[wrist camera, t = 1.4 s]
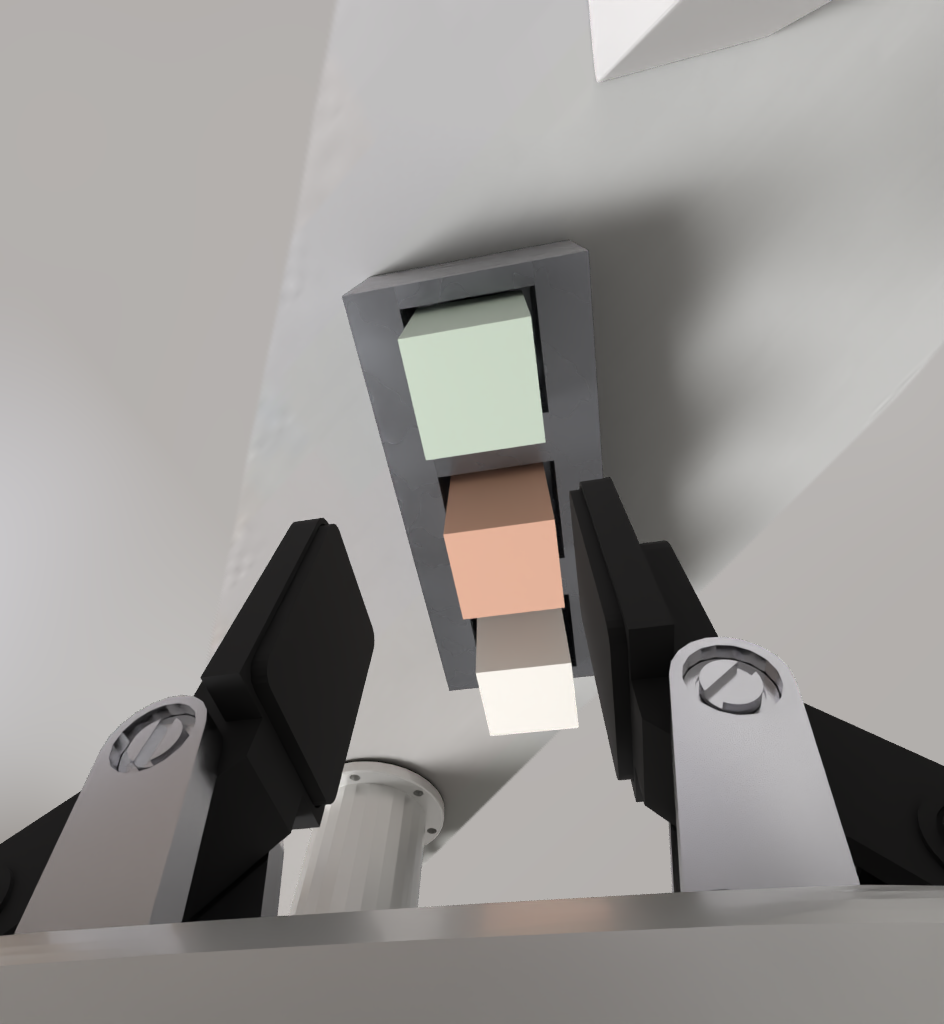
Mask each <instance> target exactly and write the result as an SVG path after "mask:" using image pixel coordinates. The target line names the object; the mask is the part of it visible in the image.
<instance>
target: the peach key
mask: <svg viewBox="0 0 944 1024" xmlns="http://www.w3.org/2000/svg"><path fill="white" fill-rule="evenodd" d="M443 536H444V540H445V544H446V548H447V553H448V557H449V561H450V565H451V570H452V574H453V578H454V582H455V587H456V591H457V595H458V600H459V604H460V608H461V612H462V617H463V619H472V618H480V617H489V616H497V615H506V614H514V613H523V612H531V611H539V610H548V609H556V608H565V605H564V596H563V588H562V579H561V570H560V562H559V553H558V545H557V536H556V527H555V519H554V514H553V509H552V505H551V500H550V495H549V490H548V485H547V480H546V475H545V471H544V466H543V462H540V463H533V464H526V465H519V466H513V467H506V468H499V469H492V470H485V471H478V472H472V473H465V474H458V475H451V479H450V487H449V495H448V502H447V510H446V518H445V525H444V533H443Z"/></svg>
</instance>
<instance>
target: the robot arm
mask: <svg viewBox="0 0 944 1024" xmlns="http://www.w3.org/2000/svg"><path fill="white" fill-rule="evenodd" d="M569 499H570V510H571V520H572V530H573V540H574V550H575V560H576V570H577V580H578V591H579V601H580V609H581V616H582V622H583V627H584V631H585V636H586V640H587V645H588V649H589V654H590V658H591V663H592V667H593V672H594V676H595V681H596V685H597V690H598V694H599V699H600V703H601V708H602V712H603V717H604V721H605V726H606V730H607V734H608V739H609V744H610V748H611V753H612V757H613V762H614V766H615V771H616V775H617V778H618V780H627V779H631V782H632V787H633V791H634V795H635V798H636V802H642V801H644V804H645V806H647V807H648V808H650V809H651V810H653V811H654V812H656V813H657V814H658V815H660V816H661V817H663V818H664V819H666V820H667V821H668V822H669V836H670V854H671V874H672V893H662V894H646V895H645V894H643V895H626V896H608V897H591V898H573V899H556V900H537V901H520V902H502V903H485V904H468V905H453V906H435V907H419V908H418V899H419V888H420V879H421V869H422V858H423V848H424V846H426V845H427V844H429V843H430V842H431V841H433V840H434V839H435V838H436V837H437V835H438V834H439V833H440V831H441V829H442V827H443V822H444V803H443V800H442V797H441V796H440V794H439V792H438V791H437V789H436V788H435V787H434V786H433V785H432V784H431V783H430V782H428V781H427V780H426V779H424V778H423V777H421V776H420V775H418V774H416V773H414V772H412V771H410V770H408V769H405V768H402V767H399V766H396V765H392V764H387V763H382V762H370V761H360V762H349V763H345V760H346V756H347V752H348V748H349V744H350V740H351V736H352V733H353V729H354V725H355V721H356V717H357V713H358V709H359V705H360V701H361V697H362V693H363V689H364V685H365V681H366V677H367V673H368V669H369V665H370V661H371V657H372V653H373V649H374V632H373V628H372V625H371V622H370V619H369V616H368V613H367V610H366V607H365V605H364V602H363V599H362V596H361V593H360V590H359V587H358V584H357V581H356V578H355V575H354V572H353V569H352V566H351V564H350V561H349V558H348V555H347V552H346V549H345V546H344V543H343V540H342V537H341V534H340V531H339V529H338V527H337V526H336V525H335V524H328V522H327V521H326V520H325V519H324V518H319V519H312V520H305V521H298V522H294V523H293V524H292V525H291V526H290V528H289V530H288V531H287V533H286V535H285V536H284V538H283V540H282V541H281V543H280V545H279V546H278V548H277V550H276V551H275V553H274V555H273V556H272V558H271V560H270V562H269V563H268V565H267V567H266V568H265V570H264V572H263V573H262V575H261V577H260V578H259V580H258V582H257V583H256V585H255V587H254V588H253V590H252V592H251V593H250V595H249V597H248V599H247V600H246V602H245V604H244V605H243V607H242V609H241V610H240V612H239V614H238V615H237V617H236V619H235V620H234V622H233V624H232V625H231V627H230V629H229V630H228V632H227V634H226V635H225V637H224V639H223V641H222V642H221V644H220V646H219V647H218V649H217V651H216V652H215V654H214V656H213V657H212V659H211V661H210V662H209V664H208V666H207V667H206V669H205V671H204V672H203V674H202V676H201V679H202V683H201V684H200V686H199V688H198V689H197V691H196V693H195V695H194V696H187V695H180V696H173V697H168V698H165V699H162V700H159V701H157V702H154V703H152V704H150V705H148V706H146V707H145V708H143V709H141V710H139V711H137V712H136V713H135V714H133V715H132V716H131V717H130V718H128V719H127V720H126V721H124V722H123V723H122V724H121V725H120V726H119V727H118V728H117V729H116V730H115V731H114V732H113V733H112V734H111V735H110V736H109V738H108V739H107V741H106V742H105V744H104V745H103V747H102V748H101V750H100V752H99V754H98V756H97V759H96V761H95V763H94V765H93V767H92V769H91V771H90V773H89V775H88V778H87V780H86V782H85V784H84V786H83V788H82V790H81V791H80V792H79V793H78V794H76V795H74V796H73V797H72V798H70V799H68V800H67V801H65V802H64V803H62V804H61V805H59V806H58V807H56V808H55V809H53V810H51V811H50V812H48V813H47V814H45V815H44V816H42V817H41V818H39V819H38V820H36V821H35V822H33V823H32V824H30V825H29V826H27V827H26V828H24V829H23V830H21V831H20V832H18V833H16V834H15V835H13V836H12V837H10V838H9V839H7V840H6V841H4V842H3V843H1V844H0V1024H944V766H942V765H940V764H938V763H936V762H934V761H932V760H929V759H927V758H925V757H923V756H920V755H918V754H916V753H914V752H912V751H909V750H907V749H905V748H903V747H900V746H898V745H896V744H894V743H891V742H889V741H887V740H885V739H883V738H881V737H878V736H876V735H874V734H872V733H869V732H867V731H865V730H863V729H860V728H858V727H856V726H854V725H852V724H849V723H847V722H845V721H843V720H840V719H838V718H836V717H834V716H832V715H829V714H827V713H825V712H823V711H821V710H818V709H816V708H814V707H811V706H809V705H807V704H805V703H803V700H802V697H801V694H800V691H799V688H798V684H797V681H796V679H795V677H794V676H793V674H792V672H791V670H790V668H789V667H788V666H787V665H786V664H785V663H784V662H783V661H782V660H781V659H780V658H779V657H778V656H777V655H775V654H774V653H772V652H770V651H769V650H767V649H765V648H763V647H762V646H760V645H757V644H754V643H751V642H748V641H745V640H742V639H736V638H729V637H718V635H717V633H716V632H715V630H714V628H713V626H712V624H711V622H710V620H709V618H708V616H707V615H706V612H705V611H704V609H703V607H702V605H701V603H700V601H699V599H698V597H697V595H696V593H695V591H694V589H693V587H692V585H691V584H690V582H689V580H688V578H687V576H686V574H685V572H684V570H683V568H682V566H681V564H680V562H679V561H678V559H677V557H676V555H675V553H674V551H673V549H672V547H671V546H670V544H669V543H668V542H667V541H658V542H650V543H643V544H639V542H638V540H637V537H636V535H635V533H634V530H633V528H632V526H631V524H630V521H629V519H628V517H627V514H626V512H625V510H624V507H623V505H622V503H621V500H620V498H619V496H618V494H617V491H616V489H615V487H614V484H613V482H612V480H611V478H610V477H609V478H602V479H595V480H588V481H581V482H580V483H579V490H572V491H569ZM304 828H309V829H310V830H311V831H312V832H311V835H310V839H309V842H308V846H307V850H306V853H305V857H304V860H303V864H302V868H301V871H300V875H299V879H298V882H297V886H296V889H295V893H294V897H293V900H292V904H291V907H290V911H289V915H288V916H277V915H278V905H279V896H280V886H281V876H282V866H283V857H284V843H283V839H284V838H286V837H287V836H288V835H289V834H290V833H291V830H292V829H304Z"/></svg>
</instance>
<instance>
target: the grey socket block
mask: <svg viewBox="0 0 944 1024" xmlns="http://www.w3.org/2000/svg"><path fill="white" fill-rule="evenodd" d="M517 290H522V292H523V295H524V298H525V301H526V304H527V307H528V309H529V312H530V315H531V321H532V329H533V338H534V347H535V355H536V364H537V372H538V381H539V390H540V398H541V407H542V416H543V424H544V433H545V441H546V442H545V443H539V444H532V445H525V446H519V447H512V448H505V449H499V450H492V451H485V452H479V453H472V454H465V455H459V456H452V457H445V458H439V459H432V460H426V459H425V455H424V450H423V446H422V442H421V437H420V433H419V429H418V425H417V420H416V416H415V412H414V408H413V403H412V399H411V395H410V391H409V386H408V382H407V378H406V373H405V369H404V365H403V361H402V356H401V352H400V348H399V344H398V338H399V336H400V335H401V333H402V332H403V330H404V328H405V327H406V325H407V324H408V322H409V320H410V319H411V317H412V316H413V314H414V312H415V311H416V309H417V308H422V307H428V306H433V305H439V304H445V303H450V302H456V301H461V300H467V299H472V298H478V297H483V296H489V295H495V294H500V293H506V292H511V291H517ZM342 298H343V302H344V305H345V309H346V313H347V316H348V320H349V324H350V327H351V331H352V335H353V338H354V342H355V346H356V349H357V353H358V357H359V360H360V364H361V368H362V371H363V375H364V379H365V382H366V386H367V390H368V393H369V397H370V401H371V404H372V408H373V412H374V415H375V419H376V423H377V426H378V430H379V434H380V438H381V441H382V445H383V449H384V452H385V456H386V460H387V463H388V467H389V471H390V474H391V478H392V482H393V485H394V489H395V493H396V496H397V500H398V504H399V507H400V511H401V515H402V518H403V522H404V526H405V529H406V533H407V537H408V540H409V544H410V548H411V551H412V555H413V559H414V562H415V566H416V570H417V573H418V577H419V581H420V584H421V588H422V592H423V595H424V599H425V603H426V606H427V610H428V614H429V617H430V621H431V625H432V628H433V632H434V636H435V639H436V643H437V647H438V650H439V654H440V658H441V661H442V665H443V669H444V672H445V676H446V680H447V683H448V687H449V691H452V690H461V689H471V688H479V685H478V681H477V676H476V643H477V618H472V619H463V617H462V612H461V608H460V604H459V600H458V595H457V591H456V587H455V582H454V578H453V574H452V570H451V565H450V561H449V557H448V553H447V548H446V544H445V540H444V536H443V533H444V525H445V518H446V510H447V502H448V495H449V487H450V479H451V475H458V474H465V473H472V472H478V471H485V470H492V469H499V468H506V467H513V466H519V465H526V464H533V463H540V462H543V466H544V471H545V475H546V480H547V485H548V490H549V495H550V500H551V505H552V509H553V514H554V519H555V527H556V536H557V545H558V553H559V562H560V570H561V579H562V588H563V596H564V605H565V608H562V614H563V619H564V625H565V631H566V636H567V642H568V647H569V653H570V659H571V665H572V674H573V678H576V677H586V676H594V672H593V667H592V663H591V658H590V654H589V649H588V645H587V640H586V636H585V631H584V627H583V622H582V616H581V609H580V601H579V591H578V580H577V570H576V560H575V550H574V540H573V530H572V520H571V510H570V499H569V491H572V490H579V483H580V482H581V481H588V480H595V479H602V478H603V470H602V454H601V438H600V423H599V407H598V391H597V376H596V360H595V344H594V328H593V313H592V297H591V281H590V266H589V251H588V250H587V249H585V248H583V247H581V246H579V245H578V244H576V243H574V242H572V241H570V240H565V241H559V242H554V243H549V244H543V245H538V246H533V247H527V248H522V249H517V250H511V251H506V252H501V253H495V254H490V255H485V256H480V257H474V258H469V259H464V260H458V261H453V262H448V263H442V264H437V265H432V266H426V267H421V268H416V269H410V270H405V271H400V272H394V273H389V274H384V275H378V276H373V277H369V278H367V279H366V280H365V281H363V282H362V283H360V284H359V285H357V286H356V287H354V288H353V289H352V290H350V291H349V292H347V293H346V294H344V295H343V296H342Z"/></svg>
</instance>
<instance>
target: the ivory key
mask: <svg viewBox="0 0 944 1024" xmlns="http://www.w3.org/2000/svg"><path fill="white" fill-rule="evenodd" d="M476 676H477V681H478V685H479V689H480V693H481V698H482V702H483V706H484V710H485V715H486V719H487V723H488V728H489V732H490V736H496V735H507V734H517V733H528V732H538V731H549V730H560V729H569V728H579V726H578V717H577V708H576V699H575V691H574V682H573V674H572V665H571V659H570V653H569V647H568V642H567V636H566V631H565V625H564V619H563V614H562V608H556V609H548V610H539V611H531V612H523V613H514V614H506V615H497V616H489V617H480V618H477V643H476Z"/></svg>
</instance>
